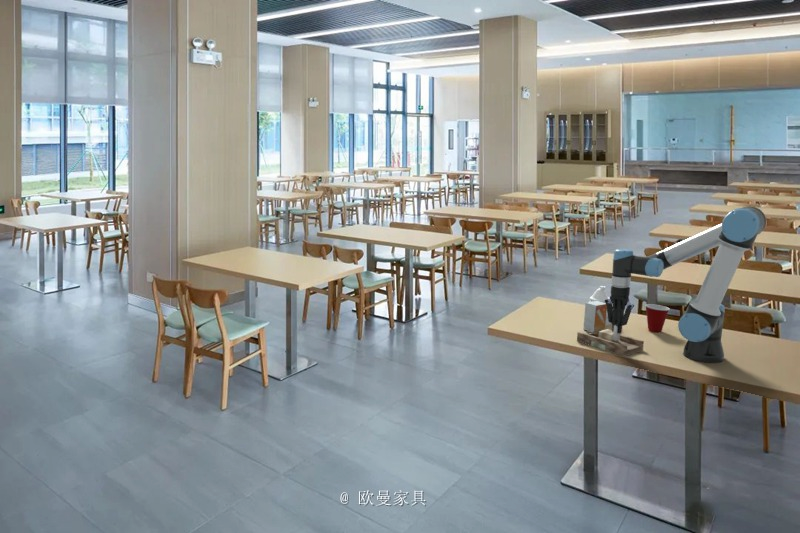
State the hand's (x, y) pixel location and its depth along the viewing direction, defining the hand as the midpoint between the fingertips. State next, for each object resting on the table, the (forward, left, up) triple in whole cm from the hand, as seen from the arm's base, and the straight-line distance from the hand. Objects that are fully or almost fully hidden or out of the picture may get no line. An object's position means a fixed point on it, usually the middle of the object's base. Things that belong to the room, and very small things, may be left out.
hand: (616, 339), depth 272 cm
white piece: (+29, -28, -4) cm, 41 cm away
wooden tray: (+3, 0, -3) cm, 5 cm away
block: (+4, 0, -1) cm, 4 cm away
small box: (+21, -14, -4) cm, 26 cm away
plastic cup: (+4, -37, -4) cm, 37 cm away
